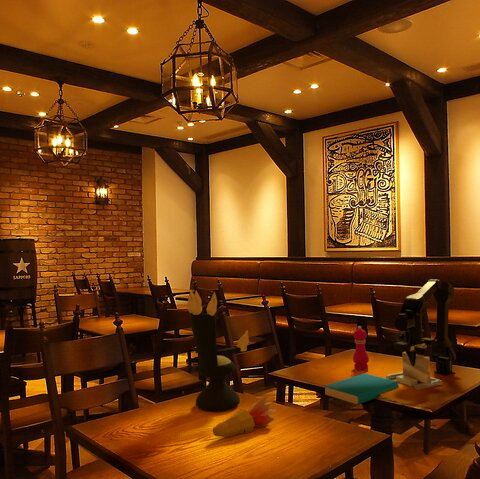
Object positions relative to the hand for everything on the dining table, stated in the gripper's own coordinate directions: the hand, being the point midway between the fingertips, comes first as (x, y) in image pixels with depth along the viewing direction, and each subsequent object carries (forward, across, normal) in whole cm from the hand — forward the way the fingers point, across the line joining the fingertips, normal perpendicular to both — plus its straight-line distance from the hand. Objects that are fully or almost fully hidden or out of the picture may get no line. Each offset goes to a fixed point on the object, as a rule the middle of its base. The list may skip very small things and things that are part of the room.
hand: (415, 365), depth 200 cm
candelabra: (+8, +82, -18) cm, 85 cm away
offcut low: (+8, +5, 0) cm, 10 cm away
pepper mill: (+8, +3, -31) cm, 32 cm away
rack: (+8, +1, 0) cm, 8 cm away
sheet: (+6, 0, 0) cm, 6 cm away
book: (+9, +25, -4) cm, 27 cm away
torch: (+8, +82, +7) cm, 83 cm away
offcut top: (+6, +5, 0) cm, 8 cm away
